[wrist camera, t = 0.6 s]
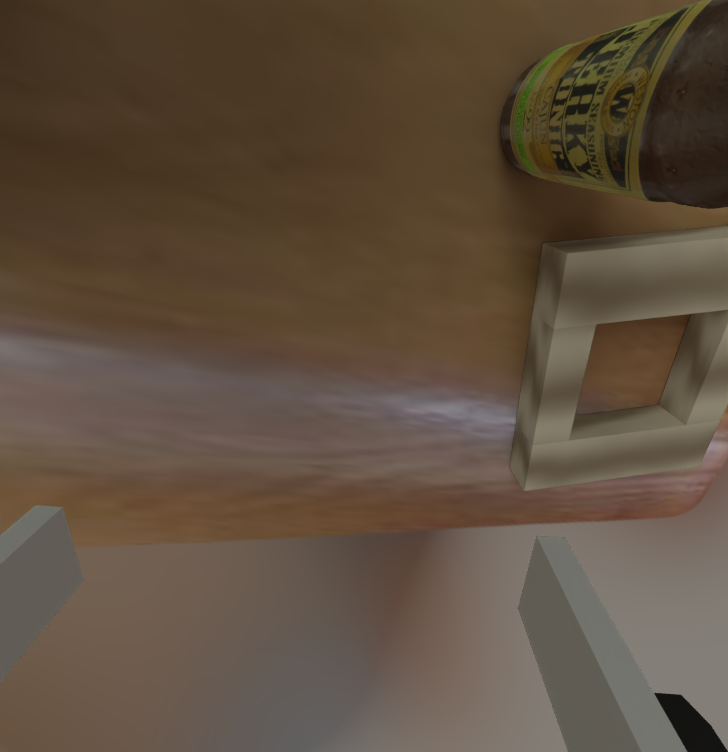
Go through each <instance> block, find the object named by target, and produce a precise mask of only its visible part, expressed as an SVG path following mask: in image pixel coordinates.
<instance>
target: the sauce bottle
mask: <svg viewBox="0 0 728 752" xmlns="http://www.w3.org/2000/svg"><path fill="white" fill-rule="evenodd" d="M501 134H502V142H503V149H504V152H505V154H506V156H507V158H508V159H509V160H510V161H511V162H512V163H513V164H514V165H515V166H516V167H517V168H519V169H520V170H522V171H524V172H526V173H527V174H529V175H531V176H535V177H537V178H540V179H543V180H548V181H552V182H557V183H562V184H566V185H571V186H575V187H580V188H586V189H591V190H596V191H601V192H606V193H611V194H616V195H621V196H627V197H632V198H637V199H641V200H646V201H653V202H674V203H677V204H681V205H687V206H694V207H701V208H708V209H715V208H722V207H728V0H702V1H699V2H696V3H693V4H690V5H687V6H684V7H681V8H678V9H675V10H672V11H669V12H666V13H663V14H660V15H657V16H654V17H651V18H648V19H645V20H641V21H638V22H635V23H632V24H629V25H626V26H623V27H620V28H617V29H614V30H611V31H608V32H605V33H602V34H599V35H596V36H593V37H590V38H587V39H584V40H581V41H578V42H575V43H572V44H569V45H566V46H563V47H561V48H558V49H556V50H554V51H553V52H551V53H550V54H548V55H546V56H544V57H542V58H540V59H539V60H538V61H537V62H535V63H534V64H532V65H531V66H529V67H528V68H527V69H526V70H525V71H524V72H523V73H522V74H521V75H520V77H519V78H518V80H517V82H516V83H515V85H514V87H513V89H512V90H511V93H510V95H509V96H508V99H507V101H506V103H505V105H504V107H503V111H502V115H501Z"/></svg>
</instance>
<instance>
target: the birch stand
mask: <svg viewBox="0 0 728 752" xmlns="http://www.w3.org/2000/svg"><path fill="white" fill-rule="evenodd" d="M685 314H691V315H690V318H689V321H688V324H687V327H686V329H685V332H684V335H683V338H682V341H681V343H680V346H679V349H678V352H677V355H676V357H675V360H674V363H673V366H672V369H671V371H670V374H669V377H668V380H667V383H666V385H665V388H664V391H663V394H662V397H661V399H660V402H659V405H655V406H647V407H639V408H631V409H623V410H616V411H608V412H600V413H592V414H584V415H576V416H575V412H576V408H577V404H578V400H579V395H580V391H581V387H582V383H583V379H584V374H585V370H586V366H587V362H588V357H589V353H590V349H591V345H592V341H593V336H594V332H595V328H596V324H604V323H613V322H622V321H631V320H640V319H649V318H658V317H667V316H676V315H685ZM727 405H728V226H718V227H707V228H697V229H686V230H676V231H665V232H655V233H644V234H634V235H624V236H613V237H603V238H592V239H582V240H571V241H561V242H550V243H543V246H542V253H541V259H540V266H539V273H538V279H537V286H536V293H535V299H534V306H533V313H532V319H531V326H530V333H529V339H528V346H527V352H526V359H525V366H524V372H523V379H522V386H521V392H520V399H519V406H518V412H517V419H516V426H515V432H514V439H513V446H512V452H511V459H510V466H509V468H510V469H511V471H512V472H513V474H514V476H515V477H516V479H517V480H518V482H519V483H520V485H521V487H522V488H523V490H524V491H529V490H536V489H543V488H550V487H557V486H564V485H572V484H579V483H586V482H593V481H600V480H607V479H615V478H622V477H629V476H636V475H643V474H650V473H658V472H665V471H672V470H679V469H686V468H693V467H699V466H700V464H701V461H702V459H703V457H704V455H705V453H706V450H707V448H708V446H709V444H710V442H711V440H712V437H713V435H714V433H715V431H716V429H717V427H718V424H719V422H720V420H721V418H722V416H723V413H724V411H725V409H726V407H727Z"/></svg>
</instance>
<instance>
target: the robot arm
mask: <svg viewBox="0 0 728 752" xmlns="http://www.w3.org/2000/svg"><path fill="white" fill-rule="evenodd" d="M83 580H84V579H83V576H82V572H81V569H80V565H79V562H78V559H77V555H76V552H75V548H74V545H73V541H72V538H71V535H70V531H69V528H68V524H67V521H66V517H65V514H64V511H63V507H53V506H37V505H35V506H34V507H33V508H32V509H31V510H30V511H28V512H27V513H26V514H25V515H24V516H22V517H21V518H20V519H19V520H18V521H16V522H15V523H14V524H13V525H12V526H10V527H9V528H8V529H7V530H6V531H4V532H3V533H2V534H1V535H0V683H1V681H2V680H3V679H4V677H5V676H6V675H7V674H8V673H9V671H10V670H11V669H12V668H13V667H14V665H15V664H16V663H17V662H18V660H19V659H20V658H21V657H22V656H23V654H24V653H25V652H26V651H27V649H28V648H29V647H30V646H31V645H32V643H33V642H34V641H35V640H36V638H37V637H38V636H39V635H40V633H41V632H42V631H43V630H44V629H45V627H46V626H47V625H48V624H49V622H50V621H51V620H52V619H53V617H54V616H55V615H56V614H57V613H58V611H59V610H60V609H61V608H62V606H63V605H64V604H65V603H66V602H67V600H68V599H69V598H70V597H71V595H72V594H73V593H74V592H75V590H76V589H77V588H78V587H79V586H80V584H81V583H82V582H83ZM518 609H519V612H520V615H521V618H522V621H523V624H524V627H525V630H526V632H527V635H528V638H529V641H530V644H531V647H532V650H533V652H534V655H535V658H536V661H537V664H538V667H539V670H540V673H541V675H542V678H543V681H544V684H545V687H546V689H547V692H548V695H549V698H550V701H551V704H552V707H553V710H554V713H555V715H556V718H557V721H558V724H559V727H560V730H561V733H562V735H563V738H564V741H565V744H566V747H567V750H568V752H728V751H727V750H726V748H725V747H724V745H723V743H722V742H721V740H720V739H719V737H718V736H717V734H716V733H715V731H714V730H713V728H712V726H711V725H710V724H709V723H708V722H707V721H706V720H705V719H704V718H703V717H702V716H701V715H700V714H699V713H698V712H697V711H696V710H695V709H694V708H693V707H692V706H691V705H690V704H689V702H687V701H686V700H685V699H684V697H683V696H681V695H676V694H662V693H653V691H652V689H651V687H650V686H649V684H648V682H647V680H646V679H645V677H644V675H643V673H642V672H641V670H640V668H639V666H638V665H637V663H636V661H635V659H634V658H633V656H632V654H631V652H630V651H629V649H628V647H627V645H626V644H625V642H624V640H623V638H622V637H621V635H620V633H619V631H618V630H617V628H616V626H615V624H614V623H613V621H612V619H611V618H610V616H609V614H608V612H607V610H606V609H605V607H604V605H603V603H602V602H601V600H600V598H599V596H598V595H597V593H596V591H595V589H594V588H593V586H592V584H591V582H590V581H589V579H588V577H587V575H586V574H585V572H584V570H583V568H582V566H581V565H580V563H579V561H578V559H577V558H576V556H575V554H574V553H573V551H572V549H571V547H570V545H569V544H568V542H567V540H566V538H564V537H548V536H536V540H535V544H534V548H533V552H532V556H531V560H530V564H529V568H528V572H527V575H526V579H525V584H524V587H523V591H522V595H521V599H520V603H519V607H518Z"/></svg>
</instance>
